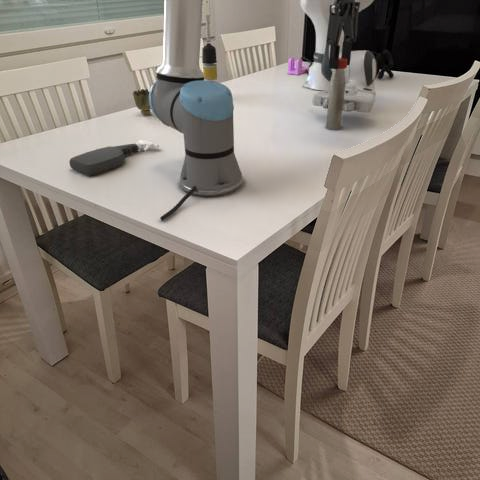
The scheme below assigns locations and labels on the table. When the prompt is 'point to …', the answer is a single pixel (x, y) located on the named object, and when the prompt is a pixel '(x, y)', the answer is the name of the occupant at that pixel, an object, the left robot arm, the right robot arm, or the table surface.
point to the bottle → (336, 99)
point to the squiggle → (381, 63)
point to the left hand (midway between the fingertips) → (339, 66)
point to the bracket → (298, 68)
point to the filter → (209, 57)
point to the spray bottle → (106, 157)
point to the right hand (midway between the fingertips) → (334, 107)
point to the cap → (342, 63)
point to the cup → (142, 101)
